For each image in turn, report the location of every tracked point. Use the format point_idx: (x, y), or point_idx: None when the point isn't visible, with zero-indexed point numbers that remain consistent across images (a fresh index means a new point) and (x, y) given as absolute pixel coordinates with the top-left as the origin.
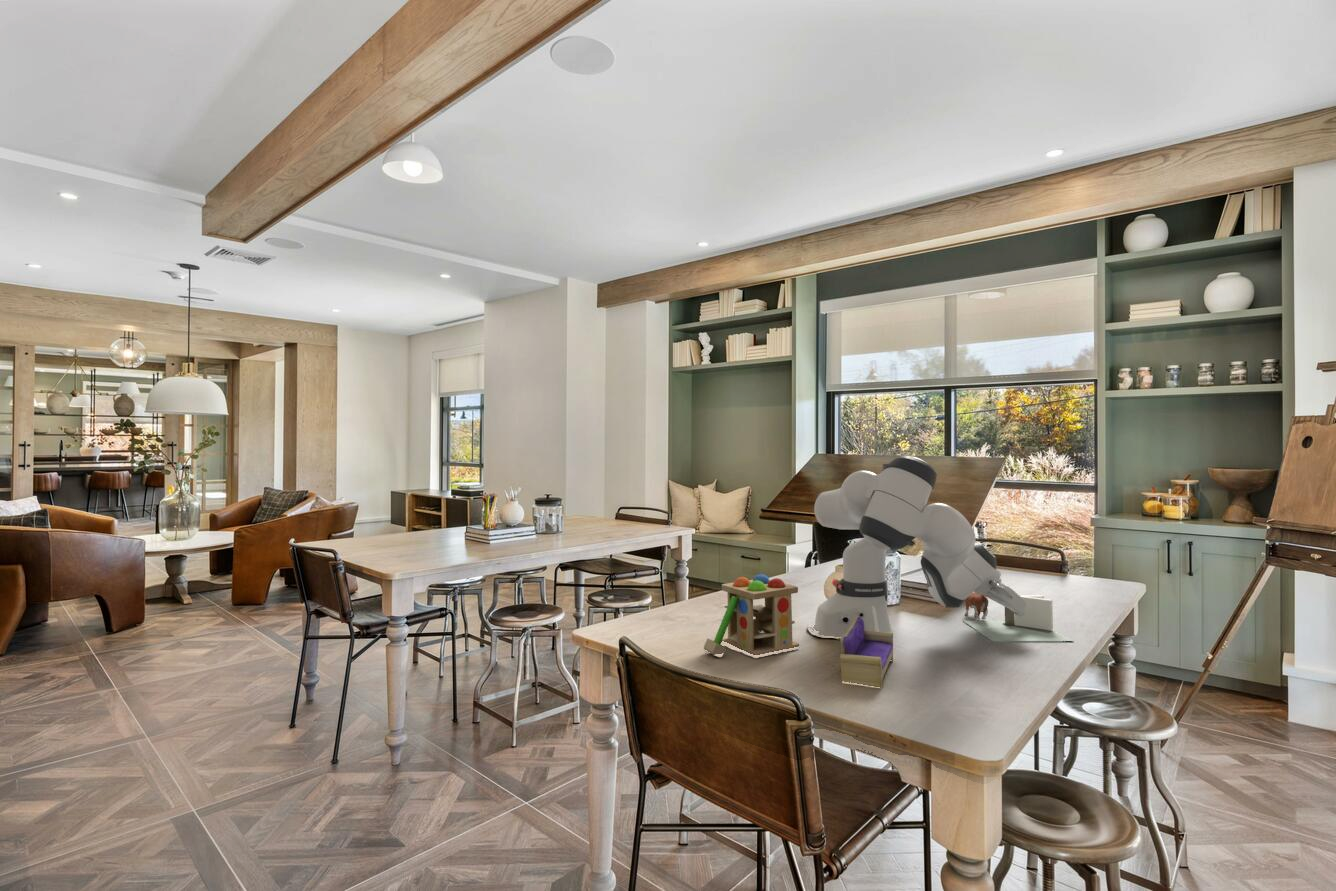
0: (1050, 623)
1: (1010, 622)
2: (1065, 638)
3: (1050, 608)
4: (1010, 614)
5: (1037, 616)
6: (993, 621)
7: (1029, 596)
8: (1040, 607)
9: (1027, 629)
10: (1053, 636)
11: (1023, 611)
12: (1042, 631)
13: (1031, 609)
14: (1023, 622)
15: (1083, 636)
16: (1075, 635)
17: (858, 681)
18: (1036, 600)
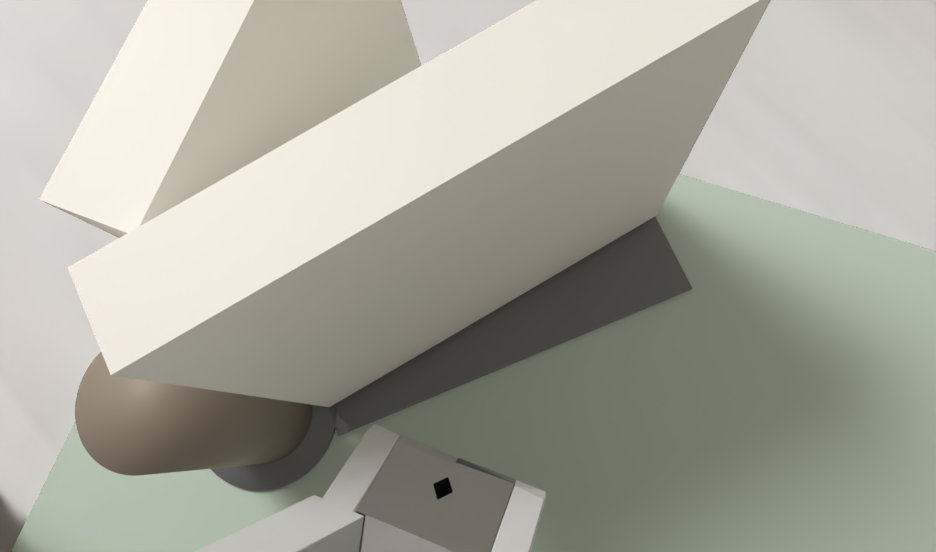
0: (665, 192)
1: (289, 444)
2: (930, 291)
3: (718, 90)
4: (247, 443)
5: (535, 244)
6: (91, 478)
7: (232, 47)
8: (583, 173)
9: (492, 387)
10: (822, 348)
11: (537, 516)
12: (626, 309)
13: (463, 262)
14: (401, 355)
15: (848, 38)
16: (796, 78)
17: None
18: (525, 151)
